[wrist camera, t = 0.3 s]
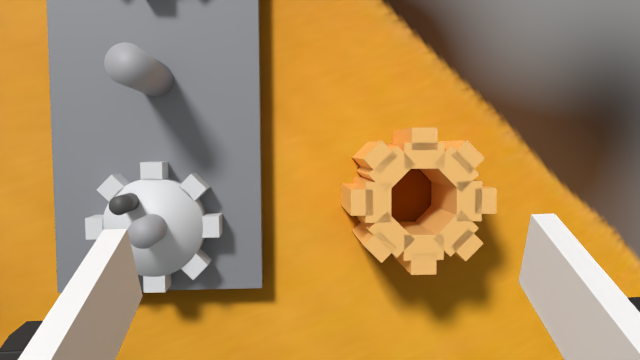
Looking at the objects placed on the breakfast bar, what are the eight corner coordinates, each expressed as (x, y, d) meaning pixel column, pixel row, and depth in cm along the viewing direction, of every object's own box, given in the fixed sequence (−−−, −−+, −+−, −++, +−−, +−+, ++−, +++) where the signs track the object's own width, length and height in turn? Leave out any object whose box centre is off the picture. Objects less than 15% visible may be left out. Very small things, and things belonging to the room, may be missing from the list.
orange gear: (464, 254, 33) (495, 273, 28) (341, 256, 33) (351, 276, 28) (465, 130, 33) (497, 127, 28) (340, 131, 32) (350, 127, 27)
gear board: (262, 281, 32) (256, 318, 25) (68, 285, 32) (6, 324, 25) (257, -126, 31) (248, -207, 24) (53, -132, 30) (-18, -217, 23)
